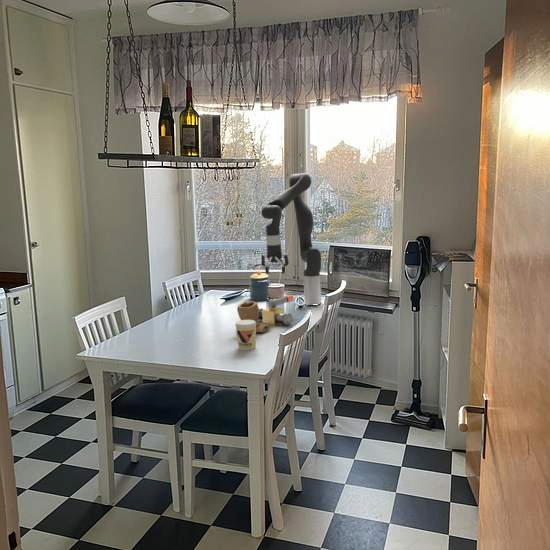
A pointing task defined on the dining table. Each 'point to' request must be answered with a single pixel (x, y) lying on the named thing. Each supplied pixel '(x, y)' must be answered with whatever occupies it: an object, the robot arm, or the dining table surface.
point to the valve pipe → (274, 316)
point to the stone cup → (252, 315)
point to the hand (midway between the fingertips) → (275, 273)
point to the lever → (280, 300)
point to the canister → (259, 286)
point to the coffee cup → (246, 334)
